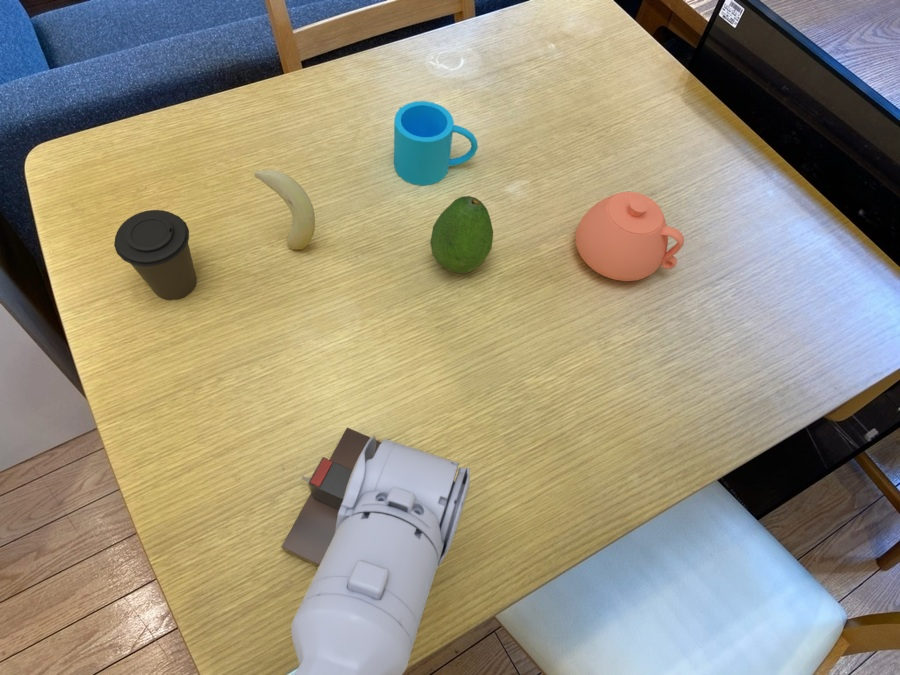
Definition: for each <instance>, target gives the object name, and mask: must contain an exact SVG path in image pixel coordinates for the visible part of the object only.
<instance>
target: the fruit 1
mask: <svg viewBox="0 0 900 675" xmlns="http://www.w3.org/2000/svg"><path fill="white" fill-rule="evenodd" d="M254 177H255V178H256V179H258V180H260V181H261V182H262V183H264V184H265V185H266V186H267V187H268V188H270V189H271V190H272V191H273V192H275V193H276V194H277V195H278V196H279V197H280V199H282V200H283V202H284V203H285V205H286V206H287V207H288V209H289V211H290V214H291V222H292V223H291V226H290V230H289V233H288V236H287V242H286V244H287V245H286V246H287V247H288V249H290V250H303V249H305V248H306V247H307V246H308V245H309V243H310V242H312V239H313V238H314V235H315V230H316V214H315V209H314V206H313V204H312V201H311V198H310V197H309V194H307V192H306V191H305V189H304V188H303V187H302V186H301V184H300V183H299V182H298V181H297V180H295V178H293V177H292V176H290V175H288V174H287V173H286V172H283V171H280V170H276V169H265V170H255V171H254Z"/></svg>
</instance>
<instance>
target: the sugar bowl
mask: <svg viewBox="0 0 900 675" xmlns="http://www.w3.org/2000/svg"><path fill="white" fill-rule="evenodd" d="M669 237H670V238H671V239H674V240H675V241H676V244H674V245H673V246H672V247H671V248H669V249H668V244H669ZM574 239H575V247H576V249H577V252H578V253H579V255H580V258H582V260H583V261H584V263H585V264H586V265H587V266H588V267H590V268H591V269H592V270H593V271H594V272H596V273H597V274H598V275H599V274H600V275H601V276H603V277H606V278H608V279H612V280H614V281H621V282H622V281H623V282H631V281H639V280H642V279H645V278H647V277H649V276H650V275H653V273H655V272H656V271H657V270H658V269H659V268H660V266H661V267H662V268H663V269H665V270H672V269H673V268H675V267H676V266H677V265H678V264H677V263H678V259H677V257H676V254H677V253H679V251H680V250H681V249H682V248H683V246H684V244H685V237H684V235H683V233H682V232H681V231H680V230H679V229H677V228H675V227H672V226H669V225H667V221H666V218H665V215H664V213H663V211H662V209H661V207H660V206H659V204H658V203H657V202H656V201H655V200H653V199H652V198H650V197H649V196H647V195H645V194H643V193H640V192H635V191H622V192H617V193H614V194H612V195H610V196H607V197H604V198H603V199H601V200H600V201H597V202H596V203H595V204H594V205H592V206H591V207H590V208H589V209H588V210H587V211H586V212H585V214H584V215H583V216H582V217H581V219H580V221H579V223H578V225H577V227H576V230H575V237H574Z"/></svg>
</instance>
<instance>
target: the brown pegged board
mask: <svg viewBox="0 0 900 675" xmlns="http://www.w3.org/2000/svg"><path fill="white" fill-rule="evenodd" d="M370 438H371V436H368V435H365V434H363V433H361V432H359V431H356V430H354V429H352V428H349V427H346V429H344V432H343V434H342V435H341V437H340V439H339V441H338V443H337V444H336V447H335V448H334V450H333V452H332V454H331V455H330V457H329V458H328V459H329V460H331V461H333V462H335V463H338V464H340V465H342V466H344V467H346V468H349V469H351V470H353V468H354V466H355V464H356V462H357V460H358V458H359V456H360V454H361V452H362V451H363V449H364V447H365V445H366V444H367V442H368V441H369V439H370ZM381 442H382V441H380V440H377V439H376V448H375V453H376V451H377V449H378V447H379V446H380V444H381ZM375 453H374V455H375ZM310 479H311V478H309V477H307V476H304V475H302V477H301V480H302V481H304V482H307V483H309V481H310ZM338 512H339V510H337V509H335V508H333V507H331V506H329V505H326V504H324V503H322V502H320V501H318V500H316V499H313V496H312V493H311V492H310V494H309V496H308V497H307V499H306V501H305V502H304V504H303V507H301V510H300V512H299V514H298V515H297V518H296V519H295V520H294V522H293V525H292V527H291V528H290V530H289V532H288V534H287V536H286V537H285V539H284V541H283V543H282V545H281V547H280V548H281V549H282V550H283V551H284V552H285V553H287V554H289V555H291V556H293V557H295V558H297V559H299V560H302V561H303V562H306V563H308V564H310V565H312V566H315V567H316V568H319V566H320V563H321V561H322V559H323V557H324V555H325V553H326V551H327V549H328V547H329V545H330V543H331V541H332V539H333V537H334V535H335V530H336V523H337V517H338Z"/></svg>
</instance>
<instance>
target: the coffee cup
mask: <svg viewBox="0 0 900 675" xmlns="http://www.w3.org/2000/svg"><path fill="white" fill-rule="evenodd" d="M189 240H190V229H189V227H188V225H187V222H186V221H185V220H184V219H182V218H181V216H179V215H177V214H174V213H173V212H171V211H167V210H162V209H150V210H145V211H140V212H138V213H135V214H134V215H132V216H129V218H127V219H126V220H125V221H124V222H123V223H121V225H120V226H119V228H118V229H117V231H116V234H115V236H114V242H113V243H114V244H113V245H114V250H115V253H116V255H118V256H119V258H120V259H121V260H123V261H124V262H126V263H128V264H130V266H132V267H133V268H134V270H135V271H136V272H137V274H138V275H139V276H140V277H141V278H142V279H143V281H144V282H145V283H146V284H147V285H148V287H149V288H150V289H151V290H152V291H153V293H154V294H155V295H156V296H157V297H159V298H160V299H163V300H166V301H177V300H181V299H182V298H186V297H187V296H188V295H190V294H191V293H193V291H194V290H195V288H196V286H197V283H198V280H197V279H198V278H197V277H198V276H197V273H196V269H195V264H194V261H193V257H192V253H191V252H192V251H191V249H190V245H189Z"/></svg>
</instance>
